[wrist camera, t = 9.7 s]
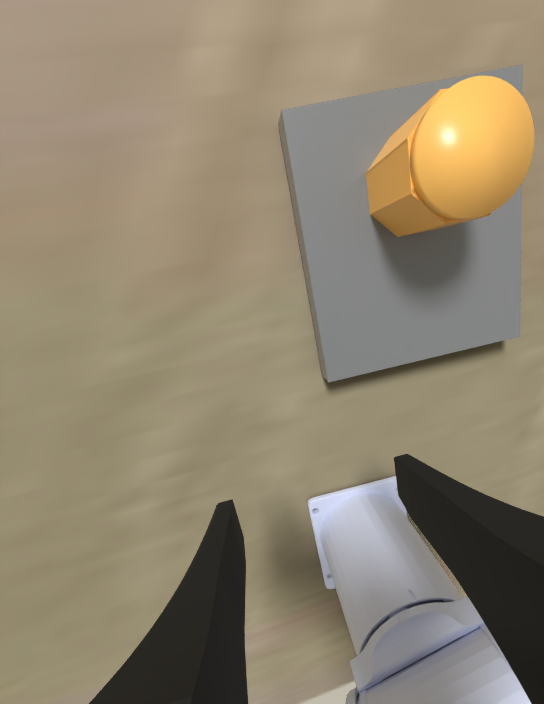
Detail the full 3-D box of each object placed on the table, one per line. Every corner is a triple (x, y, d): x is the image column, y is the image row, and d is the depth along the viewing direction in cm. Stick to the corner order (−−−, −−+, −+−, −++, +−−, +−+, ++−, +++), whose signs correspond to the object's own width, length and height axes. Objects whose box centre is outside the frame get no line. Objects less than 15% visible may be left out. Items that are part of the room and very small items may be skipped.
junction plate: (501, 332, 22) (562, 344, 18) (322, 375, 21) (342, 398, 17) (499, 81, 18) (577, 23, 14) (278, 124, 17) (290, 75, 13)
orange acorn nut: (455, 225, 18) (532, 206, 14) (372, 242, 18) (420, 228, 13) (453, 125, 17) (537, 65, 12) (362, 142, 17) (412, 85, 12)
